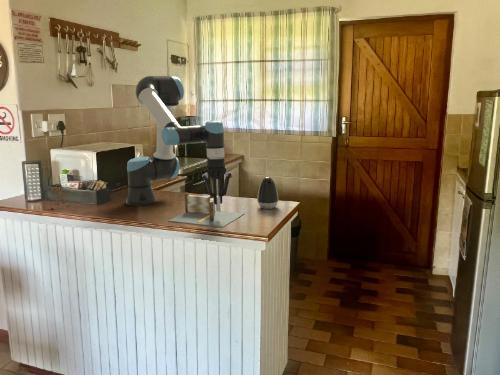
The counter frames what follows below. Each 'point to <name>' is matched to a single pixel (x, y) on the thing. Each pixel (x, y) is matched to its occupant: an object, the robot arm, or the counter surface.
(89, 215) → the counter surface
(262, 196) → the egg-shaped speaker
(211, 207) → the folding fence panel
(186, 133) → the robot arm
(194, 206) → the fixed fence section
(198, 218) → the board
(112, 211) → the counter surface
